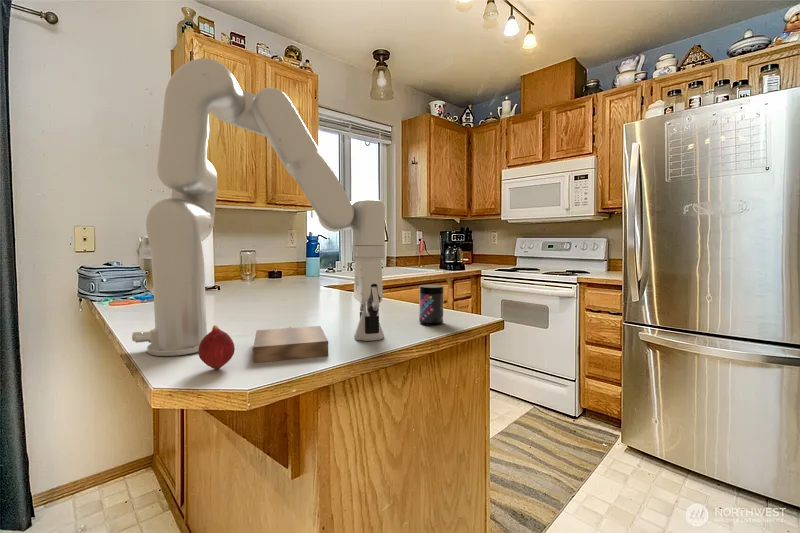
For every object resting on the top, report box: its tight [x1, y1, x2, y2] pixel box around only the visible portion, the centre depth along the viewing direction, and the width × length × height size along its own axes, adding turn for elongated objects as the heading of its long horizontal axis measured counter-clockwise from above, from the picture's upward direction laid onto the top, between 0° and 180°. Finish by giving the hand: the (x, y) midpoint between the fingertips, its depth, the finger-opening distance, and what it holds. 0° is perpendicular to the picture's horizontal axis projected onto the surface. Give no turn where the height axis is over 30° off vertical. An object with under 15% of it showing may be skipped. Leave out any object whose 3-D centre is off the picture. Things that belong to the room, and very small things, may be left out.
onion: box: [197, 324, 236, 371], centre depth 69 cm, size 6×6×8 cm
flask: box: [353, 300, 385, 342], centre depth 91 cm, size 7×7×10 cm
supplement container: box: [418, 284, 445, 327], centre depth 106 cm, size 7×7×10 cm
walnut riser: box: [252, 325, 329, 364], centre depth 82 cm, size 14×14×3 cm
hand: (369, 329), depth 91 cm, fingers closed on flask, 4 cm apart
